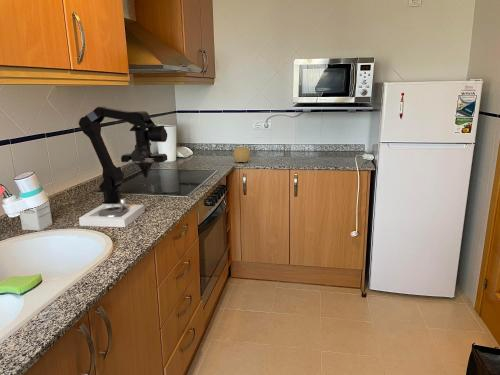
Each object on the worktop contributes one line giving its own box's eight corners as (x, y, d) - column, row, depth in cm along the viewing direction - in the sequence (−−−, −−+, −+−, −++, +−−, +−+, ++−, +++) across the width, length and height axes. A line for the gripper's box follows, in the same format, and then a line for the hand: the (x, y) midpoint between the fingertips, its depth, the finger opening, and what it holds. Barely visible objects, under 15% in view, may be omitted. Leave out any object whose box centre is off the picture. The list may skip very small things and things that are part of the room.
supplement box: (21, 230, 138) (15, 197, 135) (36, 223, 145) (30, 191, 142) (39, 231, 137) (33, 197, 134) (53, 224, 144) (48, 192, 141)
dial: (106, 222, 141) (105, 207, 140) (93, 215, 149) (91, 201, 147) (133, 214, 149) (132, 200, 148) (119, 209, 156) (118, 195, 155)
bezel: (79, 225, 142) (78, 217, 141) (104, 210, 159) (103, 203, 158) (125, 227, 139) (124, 218, 138) (144, 211, 157) (144, 204, 156)
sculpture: (250, 160, 264) (250, 145, 262) (250, 163, 253) (249, 147, 250) (234, 160, 265) (233, 145, 262) (233, 164, 253) (232, 148, 250)
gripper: (112, 144, 154) (117, 181, 158) (156, 144, 152) (159, 182, 155) (125, 140, 165) (128, 175, 169) (166, 140, 162) (169, 176, 166)
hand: (146, 177), depth 164 cm, fingers closed
